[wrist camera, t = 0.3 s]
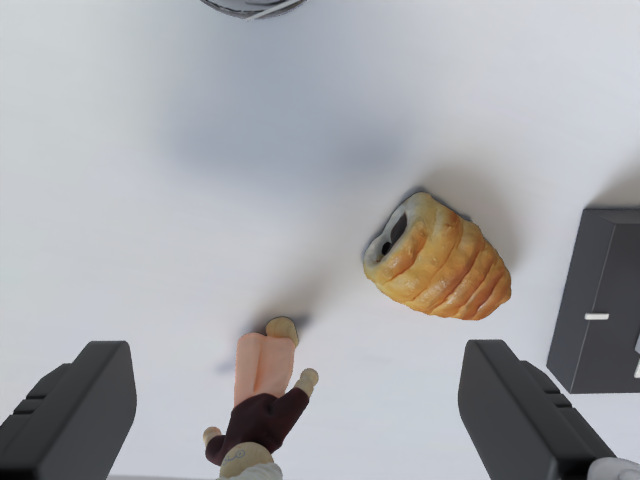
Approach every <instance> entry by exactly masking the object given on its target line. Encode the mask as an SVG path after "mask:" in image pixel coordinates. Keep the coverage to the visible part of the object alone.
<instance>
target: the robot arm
mask: <svg viewBox="0 0 640 480" xmlns="http://www.w3.org/2000/svg"><path fill="white" fill-rule="evenodd" d="M201 1H202V2H204V3H205V4H207V5H208V6H210V7H212V8H213V9H215V10H217V11H219V12H222V13H224V14H227V15H230V16H233V17H238V18H243V19H246V20H247V21H250V20H253V19H267V18H272V17H276V16H280V15H283V14H285V13H288V12H290V11H292V10H294V9H296V8H297V7H299V6H300V5H302V4H303V3H304V2H306V1H307V0H201ZM136 405H137V395H136V388H135V381H134V374H133V367H132V359H131V352H130V347H129V344H128V343H127V342H126V341H91V342H89V343H88V344H87V345H86V346H85V348H84V349H83V350H82V351H81V353H80V354H79V355H78V356H77V358H76V359H75V360H74V361H73V363H68V364H62V365H61V366H59V367H58V368H56V369H55V370H53V371H52V372H50V373H49V374H47V375H46V376H44V377H43V378H41V379H40V381H39V382H38V383H37V384H36V385H35V386H34V388H33V389H32V390H31V391H30V392H29V393H28V395H27V396H26V400H22V402H21V403H20V404H19V405H18V406H17V407H16V408H15V410H14V412H13V415H9V417H8V418H7V419H6V420H5V421H4V422H3V424H2V425H1V426H0V480H106V478H107V476H108V474H109V472H110V470H111V468H112V466H113V463H114V461H115V459H116V457H117V455H118V453H119V451H120V449H121V447H122V445H123V443H124V440H125V438H126V436H127V434H128V432H129V430H130V428H131V426H132V423H133V421H134V417H135V413H136ZM458 406H459V412H460V416H461V419H462V421H463V423H464V425H465V427H466V429H467V431H468V433H469V435H470V437H471V439H472V441H473V444H474V446H475V448H476V450H477V452H478V454H479V456H480V458H481V460H482V462H483V464H484V466H485V468H486V470H487V472H488V474H489V476H490V478H491V480H640V464H638V463H635V462H632V461H629V460H625V459H621V458H617V457H616V455H615V454H614V453H613V452H612V451H611V449H610V448H609V447H608V446H607V445H606V444H605V442H604V441H603V440H602V439H601V438H600V437H599V435H598V434H597V433H596V432H595V431H594V430H593V428H592V427H591V426H590V425H589V424H588V423H587V421H586V420H585V419H584V418H583V417H582V416H581V414H580V413H579V412H578V411H577V410H576V409H575V408H572V404H571V403H570V401H569V400H568V399H567V398H566V397H565V396H564V394H561V393H560V390H559V389H558V387H557V386H556V385H555V384H554V383H553V382H552V380H551V379H550V378H549V377H548V376H547V375H546V374H545V373H544V372H542V371H541V370H539V369H538V368H536V367H535V366H533V365H532V364H530V363H529V362H527V361H519V359H518V358H517V357H516V356H515V354H514V353H513V352H512V351H511V349H510V348H509V347H508V346H507V344H506V343H505V342H504V341H503V340H469V341H468V342H467V344H466V347H465V353H464V359H463V365H462V371H461V377H460V384H459V390H458Z"/></svg>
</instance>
